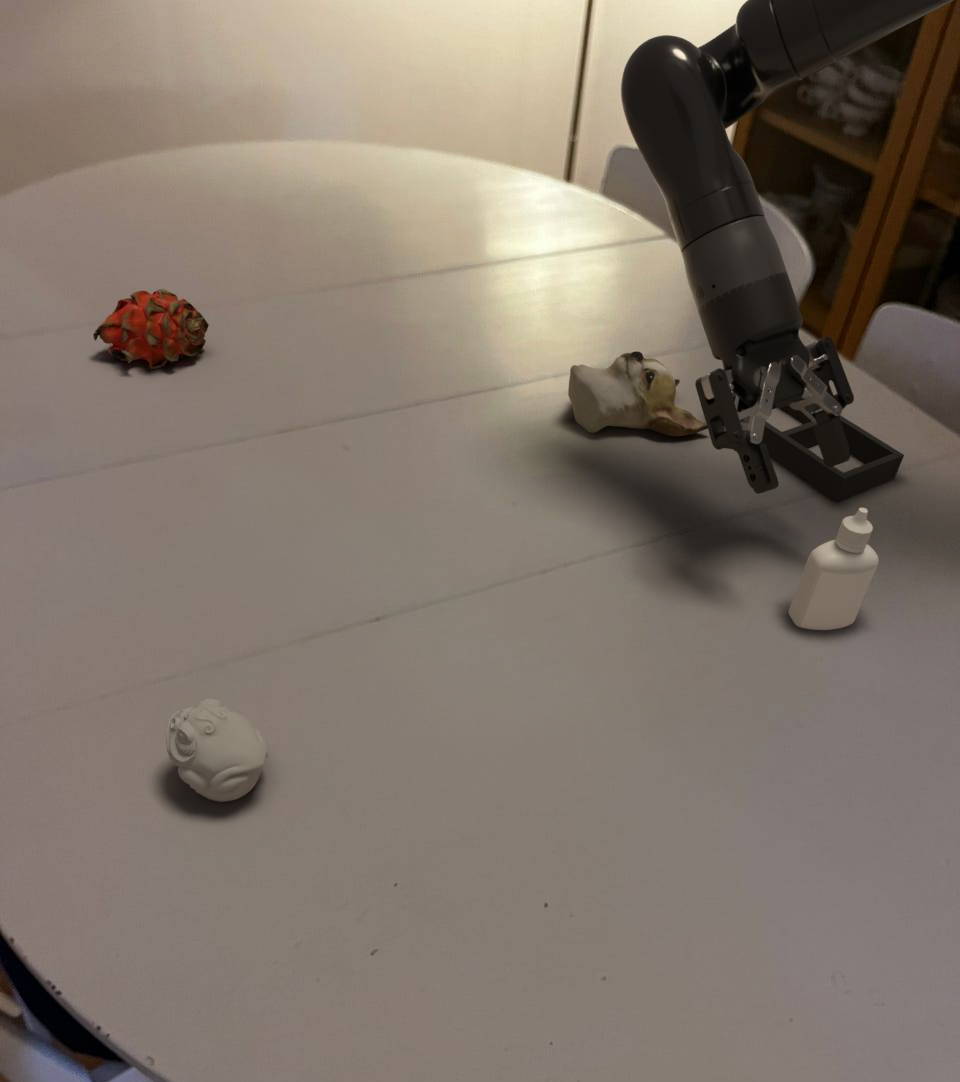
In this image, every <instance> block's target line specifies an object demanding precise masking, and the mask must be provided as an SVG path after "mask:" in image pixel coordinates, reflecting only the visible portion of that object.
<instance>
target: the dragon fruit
mask: <svg viewBox="0 0 960 1082" xmlns="http://www.w3.org/2000/svg"><path fill="white" fill-rule="evenodd" d="M209 326H210V324H209V322H208V321H207V320H206V318H205V317H204V315H203V314H202V313H201V312H200V311H198V309H196V307H195V306H194V305H193V304H192V303H190V302H189V301H187V299H185V298H181V299H179V298H178V296H177V294H175V293H173V292H171V291H169V290H167V289H165V288H160V289H157V290H155V291H153V293H150V292H148V291H147V290H138V291H135V292H133V293H131V294H130V296H129V297H127V298H121V299H119V300H117V305H116V307H115V309H114V310H113V312H112V313H111V314H109V315H108V316H107V317H106V318H105V319H104V322H102V323H101V324H99V325H98V326H97V329H95V331H94V332H93V335H92V336H93V340H94V341H97V339H98V337H99V338H100V340H102V342H103V343H105V344H107V345H109V344H112V346H109V347H108V348H107V352H108V354H109V355H110V356H113V357H114V358H117V359H118V360H119V361H122V362H123V361H124V362H127V364H130V363H131V362H132V361H137V360H142V361H147V362H148V367H149V368H150V369H151V370H157V369H160V368H164V367H165V366H166V364H167V363H168V362H170V364H173V363H174V362H178V361H179V360H182V359H183V357H184V356H189V357H195V356H197V355H198V354H199V352H198V351H200V350H202V349H203V348H204V346H205V345H206V342H207V340H206V339H205V337H206V333H207V331H208V329H209ZM115 352H116V353H115ZM118 353H121V354H123V355H121V354H118ZM158 364H159V365H158Z"/></svg>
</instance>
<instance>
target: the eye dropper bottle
mask: <svg viewBox="0 0 960 1082" xmlns="http://www.w3.org/2000/svg"><path fill="white" fill-rule="evenodd" d="M868 514H869V510H868V509H867V508H866V507H859V508H858V509H857V511H856V513H855V514H854V515H848V516H845V517H844V518H843V519H842V520H841V524H840V525H839V526H840V527H839V529H838V531H837V534H836V537H835V539H832V540H829V541H827V542H824V543H822V544H820V545H818V546H817V547H814V549H813V550H812V551H811V552H810V553H809V556H808V558H807V560H806V563H805V566H804V567H803V570H802V574H801V576H800V578H799V581H798V584H797V587H796V590H795V592H794V595H793V597H792V600H791V602H790V605H789V608H788V611H787V612H788V616H789V617H790V619H791V621H792V622H793V624H794V625H795V626H797V627H798V628H801V629H807V630H812V631H813V630H814V631H815V630H816V631H830V630H831V631H832V630H837V629H842V628H846V627H849V626H850V625H853V624H854V623H855V621H856V620H857V616H858V614H859V612H860V610H861V608H862V605H863V602H864V600H865V599H866V595H867V593H868V591H869V588H870V586H871V583H872V581H873V579H874V576H875V574H876V571H877V568H878V565H879V562H880V560H879V556H878V554H877V553H876V551H875V550H874V549H873V547H871V545H870V544H868V543H869V540H870V537H871V535H872V533H873V530H874V528H873V525H872V523H871V522H870V521H869V520H868Z"/></svg>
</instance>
